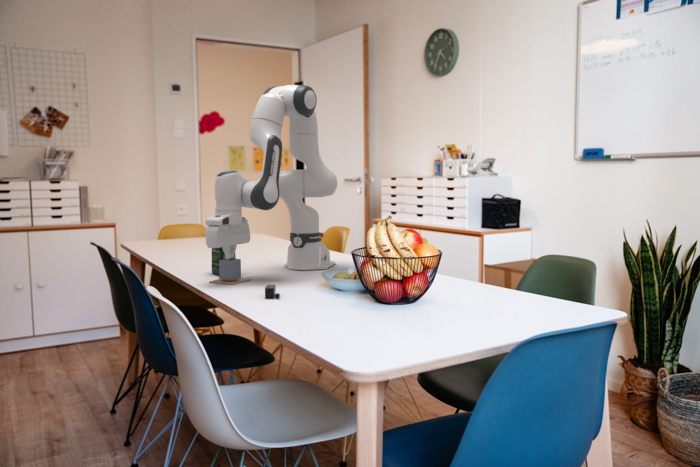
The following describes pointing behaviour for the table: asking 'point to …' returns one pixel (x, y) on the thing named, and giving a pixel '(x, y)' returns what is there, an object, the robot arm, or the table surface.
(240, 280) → the marker post
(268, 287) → the wireless earbuds
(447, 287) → the table surface
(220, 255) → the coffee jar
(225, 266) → the grey block
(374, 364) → the table surface
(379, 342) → the table surface
